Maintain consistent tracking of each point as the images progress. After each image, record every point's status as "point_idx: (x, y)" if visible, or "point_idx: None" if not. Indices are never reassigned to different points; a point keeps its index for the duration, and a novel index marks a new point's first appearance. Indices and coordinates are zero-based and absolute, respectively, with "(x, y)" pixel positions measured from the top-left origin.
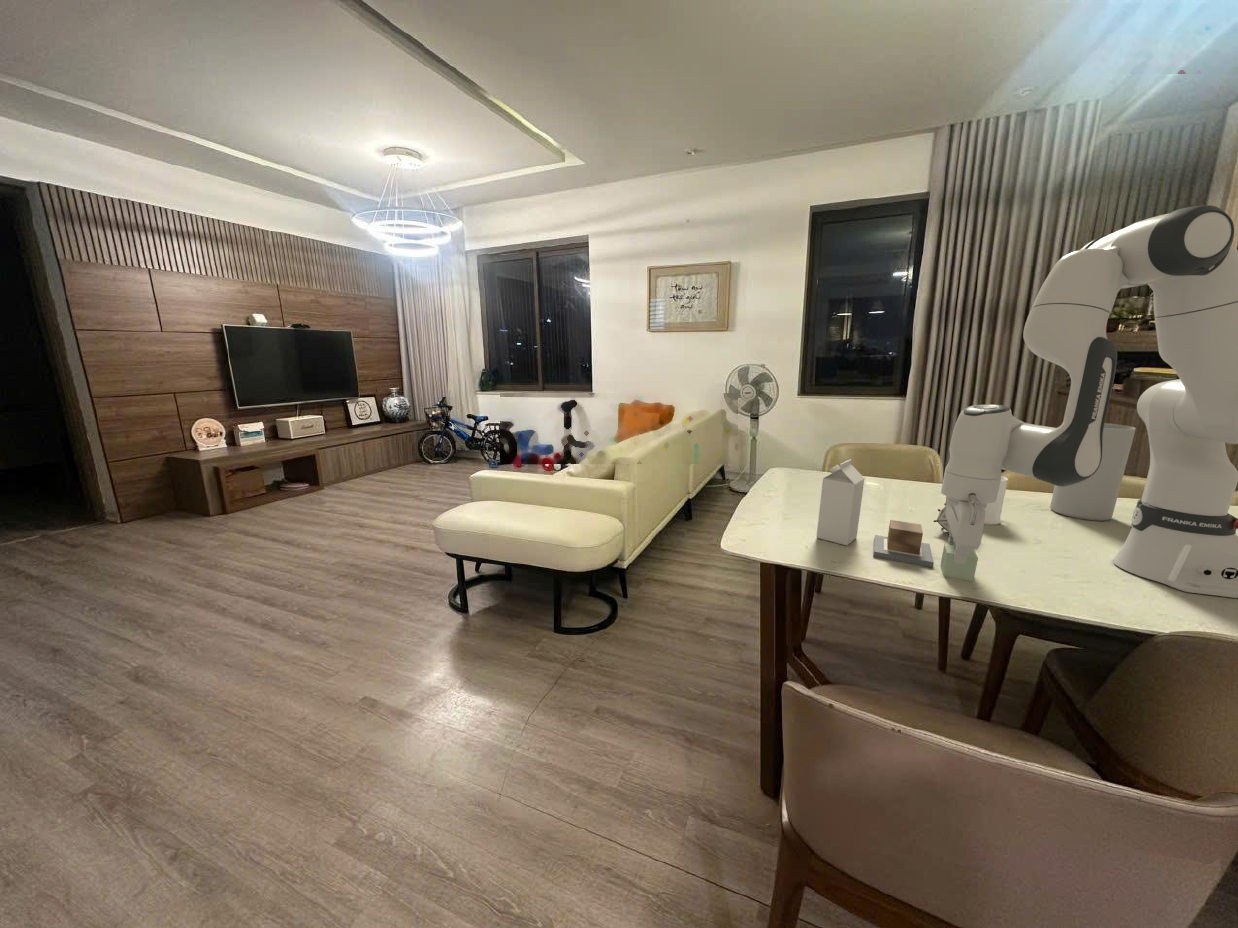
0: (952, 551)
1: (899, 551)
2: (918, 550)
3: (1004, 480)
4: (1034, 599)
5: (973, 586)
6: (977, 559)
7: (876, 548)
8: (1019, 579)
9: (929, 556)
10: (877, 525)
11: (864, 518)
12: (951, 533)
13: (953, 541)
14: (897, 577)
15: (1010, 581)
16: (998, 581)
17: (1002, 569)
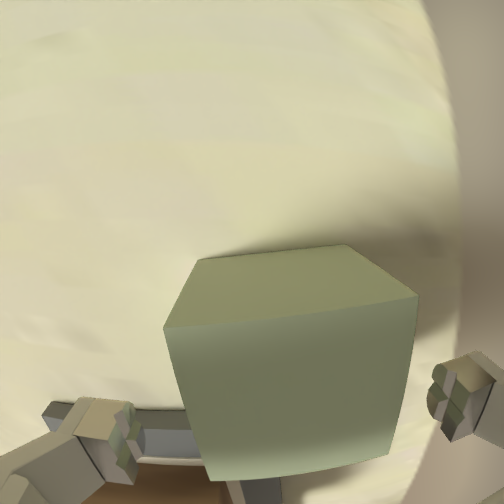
0: (351, 444)
1: (233, 502)
2: (221, 485)
3: None
4: (393, 19)
5: (410, 246)
6: (410, 292)
7: None
8: (164, 33)
9: None
10: None
11: None
12: (83, 490)
13: (127, 449)
14: (421, 449)
15: (224, 66)
16: (266, 120)
17: (67, 108)
